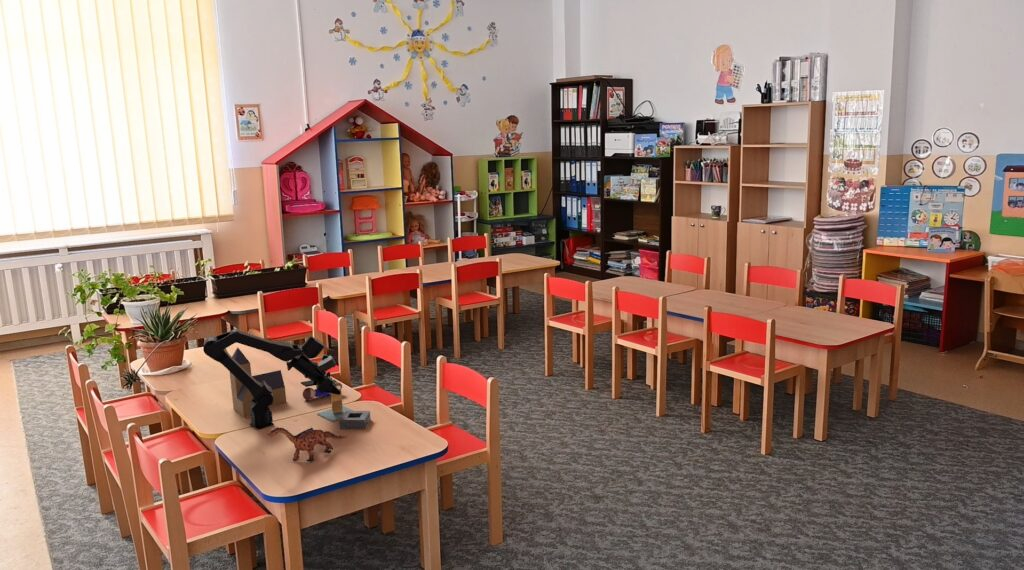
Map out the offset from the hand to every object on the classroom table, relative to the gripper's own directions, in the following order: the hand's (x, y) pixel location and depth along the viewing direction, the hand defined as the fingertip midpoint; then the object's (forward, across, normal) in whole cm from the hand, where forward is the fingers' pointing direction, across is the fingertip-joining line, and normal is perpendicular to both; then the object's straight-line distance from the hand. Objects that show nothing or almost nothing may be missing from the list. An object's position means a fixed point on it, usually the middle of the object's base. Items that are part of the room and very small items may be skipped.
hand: (339, 392), depth 296 cm
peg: (+4, 0, +6) cm, 7 cm away
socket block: (+8, -13, +4) cm, 16 cm away
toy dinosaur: (-4, -37, +17) cm, 41 cm away
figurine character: (+3, +22, +10) cm, 25 cm away
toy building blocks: (-13, +19, +26) cm, 35 cm away
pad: (+5, 0, +7) cm, 9 cm away
